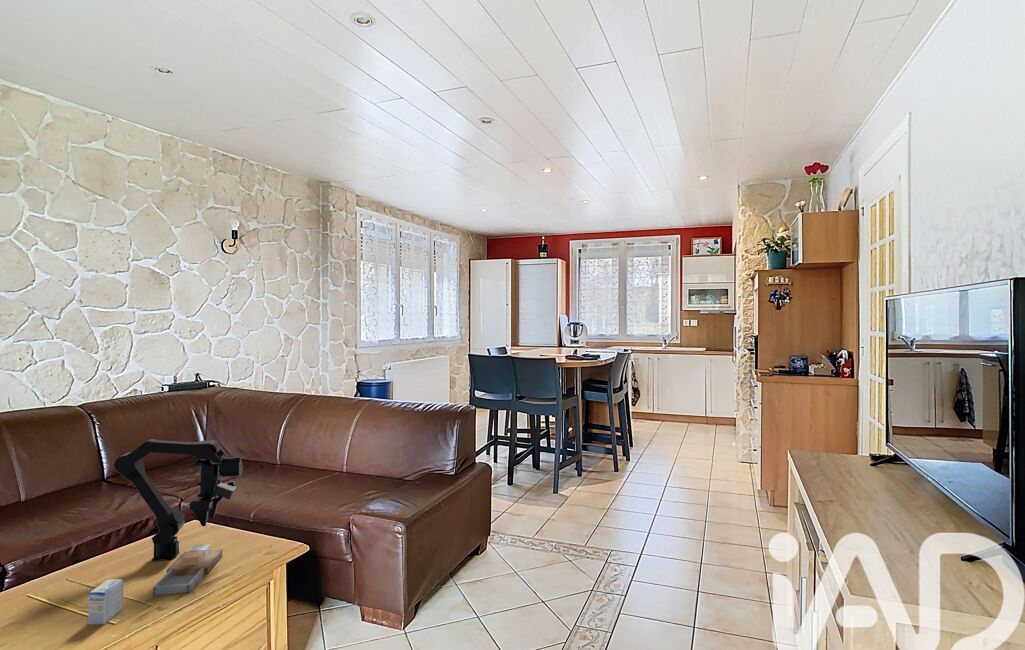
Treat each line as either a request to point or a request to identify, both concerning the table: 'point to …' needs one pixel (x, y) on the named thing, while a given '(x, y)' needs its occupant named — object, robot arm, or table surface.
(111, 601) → the medicine box
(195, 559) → the tile terracotta
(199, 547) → the white block
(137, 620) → the table surface
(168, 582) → the tray
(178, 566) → the walnut board
